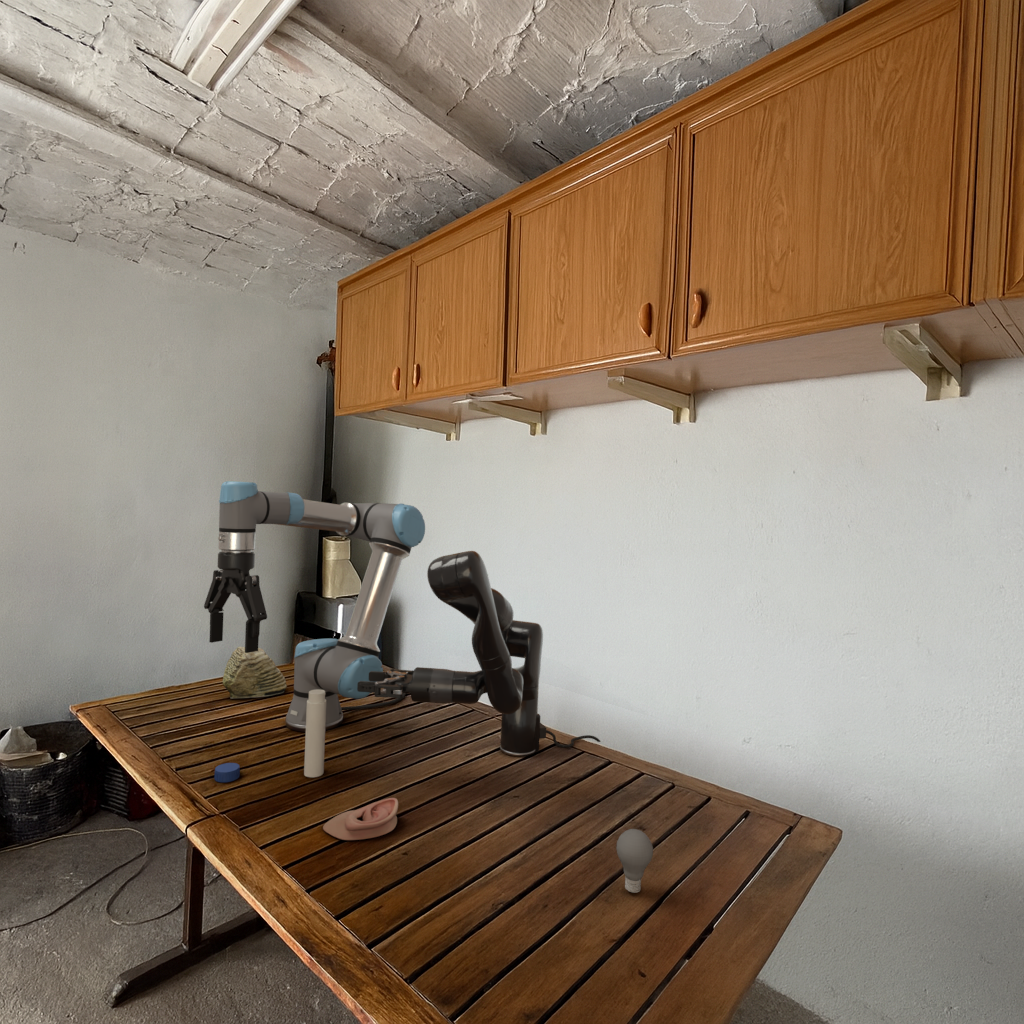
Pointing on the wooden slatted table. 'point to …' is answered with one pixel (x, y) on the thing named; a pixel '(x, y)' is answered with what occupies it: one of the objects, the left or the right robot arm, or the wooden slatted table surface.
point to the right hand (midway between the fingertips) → (363, 680)
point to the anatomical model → (364, 821)
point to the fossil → (252, 675)
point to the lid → (227, 772)
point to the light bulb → (634, 857)
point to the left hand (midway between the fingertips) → (233, 646)
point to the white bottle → (315, 733)
